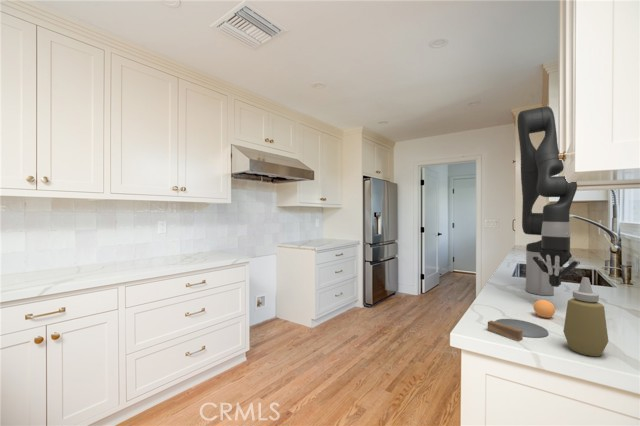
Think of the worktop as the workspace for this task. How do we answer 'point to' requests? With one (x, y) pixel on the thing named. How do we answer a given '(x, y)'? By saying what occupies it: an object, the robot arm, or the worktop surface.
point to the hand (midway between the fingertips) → (554, 286)
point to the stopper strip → (505, 330)
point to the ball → (544, 308)
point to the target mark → (525, 327)
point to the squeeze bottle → (586, 321)
